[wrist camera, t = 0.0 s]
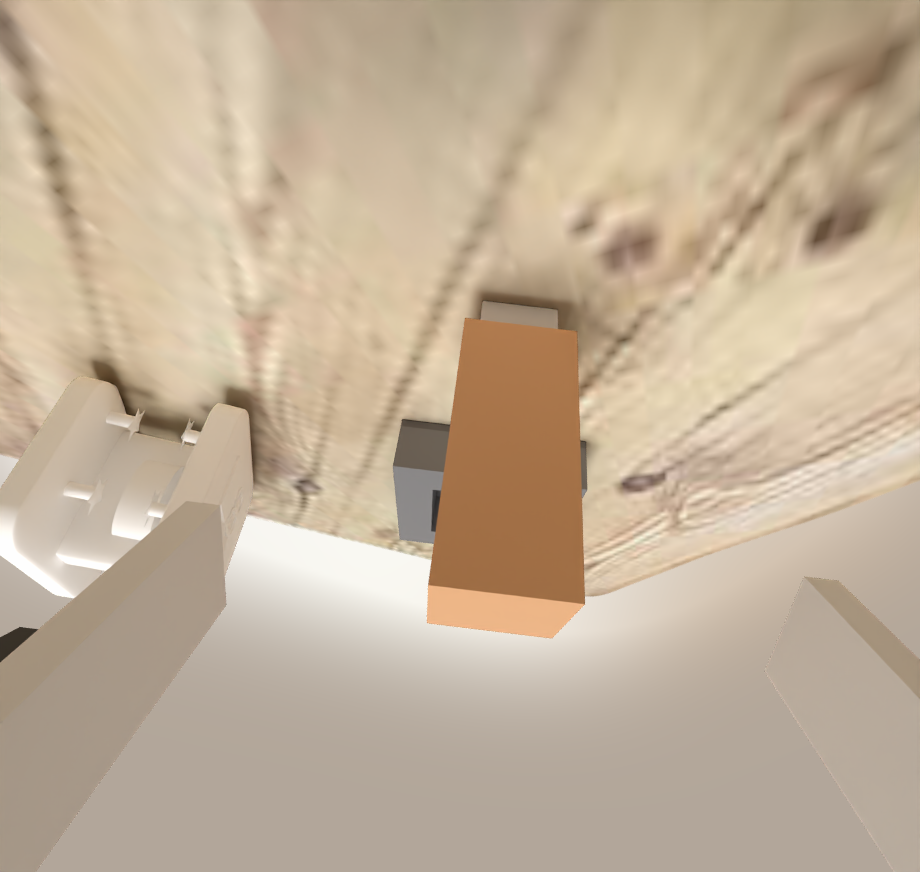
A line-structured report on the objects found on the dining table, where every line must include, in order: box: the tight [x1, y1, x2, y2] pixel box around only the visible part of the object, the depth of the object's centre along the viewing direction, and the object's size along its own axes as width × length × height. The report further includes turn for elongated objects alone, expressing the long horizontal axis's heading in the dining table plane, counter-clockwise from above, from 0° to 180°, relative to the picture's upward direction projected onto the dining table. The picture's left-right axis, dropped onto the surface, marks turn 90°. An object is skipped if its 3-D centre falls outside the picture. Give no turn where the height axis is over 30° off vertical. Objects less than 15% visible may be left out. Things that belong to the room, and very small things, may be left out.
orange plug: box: [427, 301, 585, 638], centre depth 22 cm, size 5×5×14 cm
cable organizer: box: [0, 376, 253, 598], centre depth 35 cm, size 15×11×12 cm
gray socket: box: [393, 420, 587, 544], centre depth 38 cm, size 12×12×4 cm
